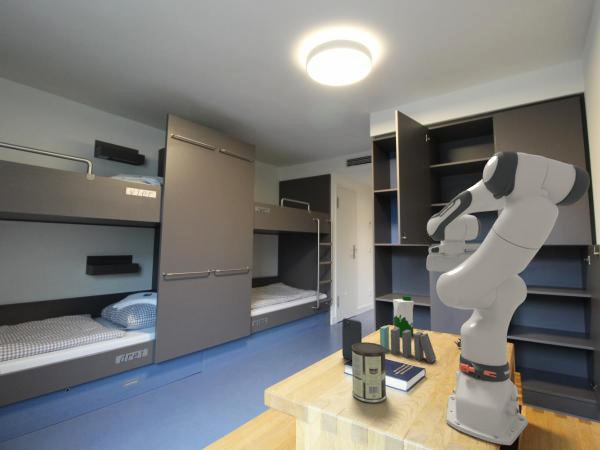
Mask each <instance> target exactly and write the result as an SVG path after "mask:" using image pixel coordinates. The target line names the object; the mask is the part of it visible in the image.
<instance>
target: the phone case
mask: <svg viewBox="0 0 600 450" xmlns="http://www.w3.org/2000/svg"><path fill="white" fill-rule="evenodd" d="M341 322H342V323H341V324H342V325H341V326H342V327H341V328H342V329H341V330H342V335H341V337H342V339H341V340H342V343H341V344H342V349H341V350H342V351H341V353H342V357H343V359H345V360H349V361H351V360H352V345H353V344H356V343H361V342H362V341H363V339H362V335H363V333H362V328H363V327H362V322H361V321H360V320H356V319H352V318H347V317H345V318H343V319H342V320H341Z"/></svg>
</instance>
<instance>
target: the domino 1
mask: <svg viewBox="0 0 600 450" xmlns="http://www.w3.org/2000/svg"><path fill="white" fill-rule="evenodd" d="M379 345H382V346H383V347H385V349H386V350H385V351H386V352H387V351H389V350H390V326H387V325H383V326H381V327H379ZM388 349H389V350H388Z"/></svg>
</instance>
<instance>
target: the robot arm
mask: <svg viewBox="0 0 600 450" xmlns="http://www.w3.org/2000/svg"><path fill="white" fill-rule="evenodd" d="M590 181H591V179H590V174H589V172H588V171H587V170H586V169H584V168H583V167H581V166H579V165H577V164H574V163H566V162H562V161H560V160H556V159H552V158H549V157H545V156H543V155H538V154H530V153H527V152H519V151H518V152H517V151H515V150H502V151H498V152H496V153H495V154H493V155H492V156H491V157H490V158H489V159H488V161H487V163H486V164H485V166H484V168H483V173H482V178H481V180H479V181H478V182H476V183H475V184H474V185H473V186H470V187H469V188H468V189H466V190H463V191H462V192H460V193H458V195H455V197H454V198H453V199H451V200H450V202H448V204H447V205H445V206H444V207H443V208H442V209H441V210H440V211H439V212H437V213H435V214H434V215H432V216H431V217H430V218H429V219H428V221H427V222H426V223H427V224H426V232H427V234H428V236H429V237H430V238H432V240H433V241H436V242H440V244H439V245H436V246H431V247H429V248H428V253H429V254H428V255H427V257H426V270H427V271H428V272H441V273H442V272H444V273H442V274H441V275H440V276H439V277H438V279H437V281H436V293H437V294H436V295H437V296H438V299H439V300H440V302H441V303H442V304H444V306H446V307H448V308H453V309H459V310H473V312H472V314H471V316H470V318H469V319H467V320H466V321H465V322H464V323H463V324H462V325H461V328H460V330H459V331H460V338H461V347H460V353H459V358H458V359H459V360H458V363H459V365H458V366H459V367H458V370H457V371H455V382H456V385H455V388H453V389H452V394H450V395H448V399H447V409H446V424H448V425H449V426H451V427H452V428H454V429H456V430H458V431H460V432H463V433H464V434H467V435H470V436H473V437H475V438H478V439H481V440H484V441H486V442H490V443H494V444H499V445H503V446H504V445H505V446H512V444H513V443H514V442H515V441H516V440H517V438H519V436H520V435H521V433H522V432H523V431H524V430H525V428H526V427H527V426H528V425H529V419H528V418H527V417H526V416H525V415H523V414H521V413H520V406H519V405H520V404H519V395H518V388H517V387H518V386H517V385H515V384H514V383H513V381H511V379H510V377H511V367H510V363H509V361H508V351H507V348H508V347H507V345H508V341H507V340H508V339H507V338H508V336H507V335H508V330H509V327H510V322H511V320H512V317H513V315H514V313H515V312H516V310H517V308H518V307H519V306H521V304H522V303H524V302H525V300H526V298H527V295H528V289H527V285H526V282H525V281H524V279H523V278H522V277H521V276H520V275H519V274H520V273H522V272H523V271H525V269H526V268H527V267H528V265H529V264H530V262H531V261H532V260H533V259H534V258H535V256H536V255H537V253H538V252H539V250H540V249H541V248H542V246H543V245H544V244H545V242H546V240H547V239H548V237H549V236H550V234H551V232H552V230H553V229H554V226H555V224H556V221H557V219H558V216H559V212H560V210H559V207H569V206H573V205H575V204H576V203H578V202H579V201H580V200H582V198H583V197H584V196H585V195H586V194H587V192H588V190H589V188H590V183H591V182H590ZM502 209H503V210H502ZM500 210H502V211H501V213H500V214H499V216H498V218H496V220H495V222H494V224H493V225H492V226H491V228H490V230H489V231H488V233H487V234H486V236H485V238H484V239H483V241H482V243H481V244H480V245H479V247H478V248H475V249H473V248H468V249H467V248H466V241H472V240H476V239H477V238H478V237H479V236H480V235H481V233H482V223H481V221H480V219H479V218H478V217H476V216H475V215H471V214H472V213H481V212H490V211H491V212H492V211H493V212H494V211H500Z"/></svg>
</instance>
